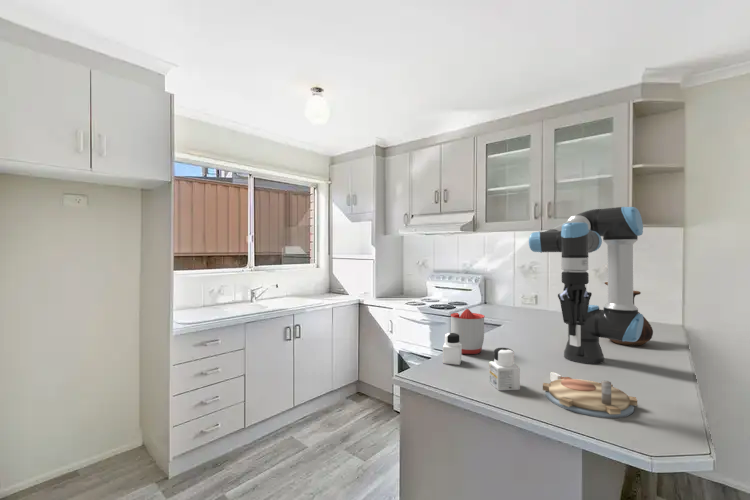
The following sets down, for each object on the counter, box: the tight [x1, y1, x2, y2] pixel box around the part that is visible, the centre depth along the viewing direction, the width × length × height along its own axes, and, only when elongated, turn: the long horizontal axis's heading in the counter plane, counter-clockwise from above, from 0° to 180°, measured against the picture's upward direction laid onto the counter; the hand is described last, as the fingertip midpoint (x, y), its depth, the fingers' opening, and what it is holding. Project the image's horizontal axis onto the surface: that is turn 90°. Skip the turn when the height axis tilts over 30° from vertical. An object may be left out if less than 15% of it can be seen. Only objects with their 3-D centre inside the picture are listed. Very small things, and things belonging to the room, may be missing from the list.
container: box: [488, 347, 521, 391], centre depth 125 cm, size 8×8×13 cm
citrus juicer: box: [450, 308, 485, 355], centre depth 170 cm, size 16×17×20 cm
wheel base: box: [545, 371, 635, 419], centre depth 116 cm, size 29×24×3 cm
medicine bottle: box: [442, 332, 463, 366], centre depth 153 cm, size 7×7×12 cm
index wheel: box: [542, 376, 638, 414], centre depth 114 cm, size 25×24×8 cm
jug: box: [604, 281, 654, 346], centre depth 184 cm, size 22×22×30 cm
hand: (575, 345), depth 114 cm, fingers closed
